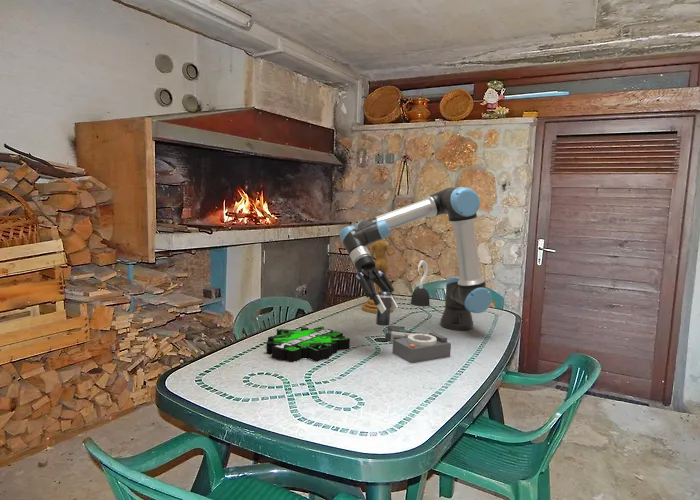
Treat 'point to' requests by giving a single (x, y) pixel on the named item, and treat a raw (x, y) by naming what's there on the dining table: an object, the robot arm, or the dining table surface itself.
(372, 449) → the dining table surface
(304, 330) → the sign
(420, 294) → the hook
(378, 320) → the lens
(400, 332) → the handgun
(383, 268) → the statue
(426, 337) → the camera body
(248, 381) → the dining table surface
